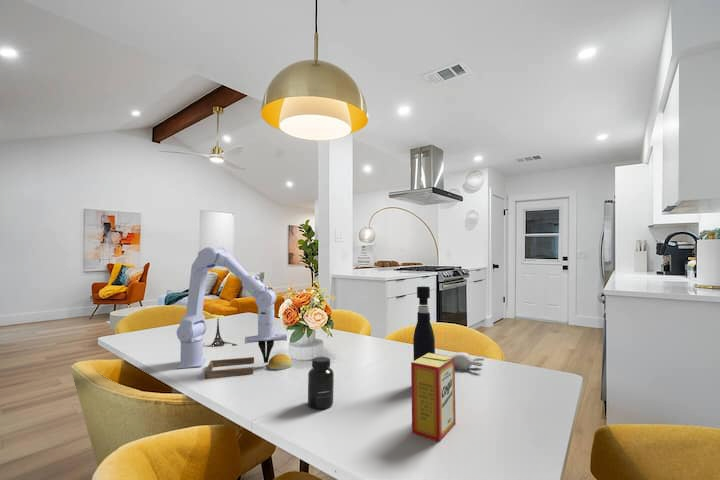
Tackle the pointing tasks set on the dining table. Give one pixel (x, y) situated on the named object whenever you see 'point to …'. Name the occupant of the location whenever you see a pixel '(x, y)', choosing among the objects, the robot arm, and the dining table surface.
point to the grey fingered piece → (465, 360)
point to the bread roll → (280, 362)
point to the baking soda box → (433, 395)
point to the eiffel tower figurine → (219, 339)
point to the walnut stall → (229, 372)
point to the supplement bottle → (320, 384)
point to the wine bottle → (423, 326)
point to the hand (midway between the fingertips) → (266, 362)
